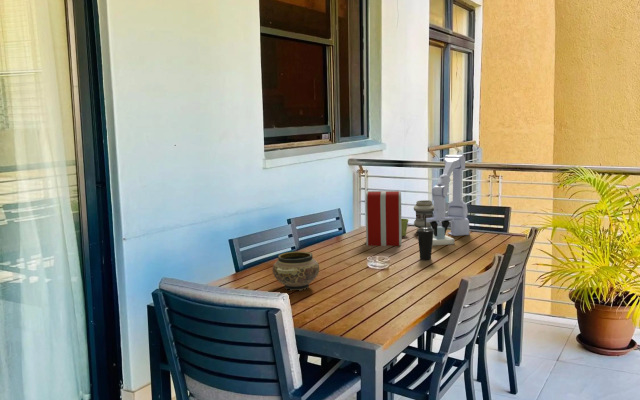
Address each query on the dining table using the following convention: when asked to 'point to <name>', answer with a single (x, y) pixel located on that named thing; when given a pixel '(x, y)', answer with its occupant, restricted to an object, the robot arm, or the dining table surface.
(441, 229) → the block
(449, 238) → the tray
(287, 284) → the ceramic bowl
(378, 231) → the red striped block
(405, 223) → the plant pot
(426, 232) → the drinking cup
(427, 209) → the apothecary jar
